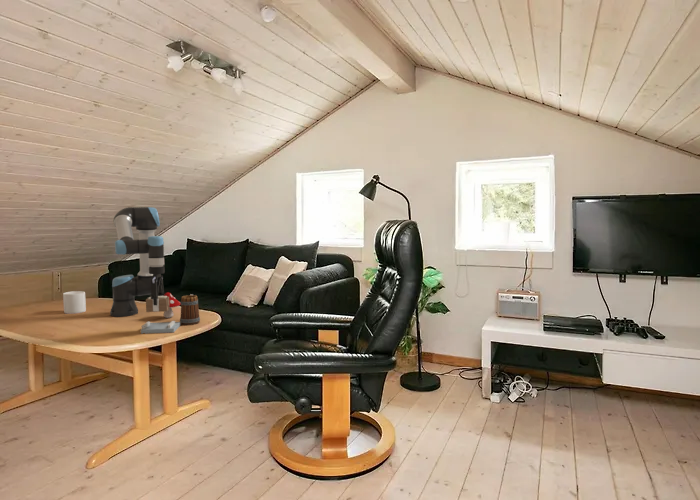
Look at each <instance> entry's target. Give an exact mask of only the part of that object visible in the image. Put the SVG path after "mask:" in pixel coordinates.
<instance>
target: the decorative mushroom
mask: <svg viewBox="0 0 700 500" xmlns="http://www.w3.org/2000/svg"><path fill="white" fill-rule="evenodd" d="M162 296H167V297H169V310H168V311H164V312H163V318H166V319H170V318H173V317H174V311H173V308H177V307H181V301H179V300H178V299H176V297H174V295H172V293H171V292H169V291H168V292H164V295H162Z"/></svg>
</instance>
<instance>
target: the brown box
mask: <svg viewBox="0 0 700 500" xmlns="http://www.w3.org/2000/svg"><path fill="white" fill-rule="evenodd" d="M158 298H159V311H153V299H151V296H149V297H147V298H146V299H145V310H146V311H145V312H146V313H155V312H156V313H161V312H163V313H164V311H168V310H169V297H167V296H163V295H162V296H158Z"/></svg>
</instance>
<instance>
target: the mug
mask: <svg viewBox="0 0 700 500" xmlns="http://www.w3.org/2000/svg"><path fill="white" fill-rule="evenodd" d="M180 299H181V300H180V303H181V305H180V319H179V322H180V325H183V326H192V325H194V326H195V325H197V324H198V325H199V323H200V322H201V316H200V309H199V299H198V296H197V294H195V295H194V294H193V293H192V294H191V293H190V295H187V294H186V295H183V296H181V298H180Z"/></svg>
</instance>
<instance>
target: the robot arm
mask: <svg viewBox="0 0 700 500" xmlns="http://www.w3.org/2000/svg"><path fill="white" fill-rule="evenodd" d="M160 225H161V224H160V217H159V213H158V210H157V208H156V207H152V206H151V207H149V206H144V207H143V206H140V207H134V206H130V207H129V206H127V207H125V208H122V209H120V210H119V211H117V212H116V214H115V215H114V217H113V226H114V228H116V233H117V234H116V235H117V240H115V241H114V250H115V254H116V255H122V256H123V255H124V256H125V255H139V272H138V273H137V276H134V275H133V274H126V275H119V276H116V277H114V278H113V279H112V285H111V287H112V305H111V308H110V311H109V313H110V316H111V317H115V318H118V317H119V318H121V317H130V316H135V315H137V314H139V308H138V306H137V304H136V301H135V297H141V296H142V297H143V296H150V297H151V299H153V311H159V298H158V296H163V295H164V294H165V290H164V289H165V288H164V280H163V279H164V276H163V274H165V272H166V271H165V270H166V269H165V268H166V267H165V254H164V253H165V249H164V248H165V247H164V246H165V245H164V244H165V242H164V237H163V236H162V235H155V232H157V230H158V228H159V227H160ZM133 228H135V230H136V231H137V232H138V239H134V233H133V230H132V229H133Z"/></svg>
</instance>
